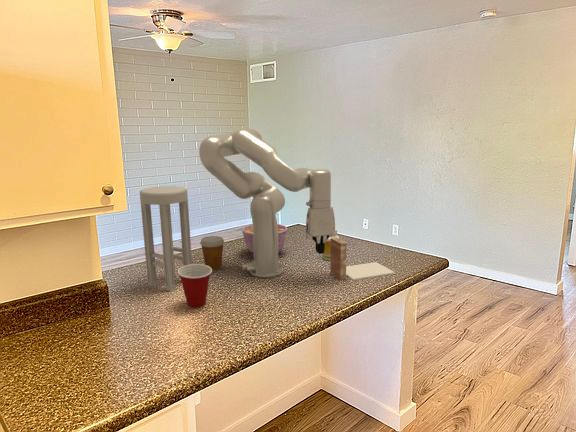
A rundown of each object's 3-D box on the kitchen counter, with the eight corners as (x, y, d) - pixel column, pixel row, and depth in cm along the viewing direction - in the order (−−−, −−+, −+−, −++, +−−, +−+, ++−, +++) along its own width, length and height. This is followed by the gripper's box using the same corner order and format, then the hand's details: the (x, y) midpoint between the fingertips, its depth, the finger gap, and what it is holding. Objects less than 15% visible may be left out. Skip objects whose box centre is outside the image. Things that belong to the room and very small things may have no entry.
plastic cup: (193, 314, 131) (191, 277, 128) (173, 305, 137) (170, 270, 135) (220, 303, 139) (219, 268, 136) (200, 294, 145) (198, 261, 143)
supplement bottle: (339, 260, 178) (340, 231, 176) (322, 260, 179) (323, 231, 176) (338, 255, 185) (338, 227, 183) (321, 255, 186) (322, 227, 183)
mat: (353, 280, 156) (353, 278, 156) (337, 269, 168) (337, 267, 168) (394, 273, 163) (394, 272, 163) (376, 263, 175) (376, 262, 174)
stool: (171, 273, 166) (164, 184, 158) (201, 280, 159) (195, 187, 151) (139, 286, 153) (130, 190, 146) (170, 294, 146) (162, 194, 138)
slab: (339, 279, 157) (340, 243, 154) (330, 272, 165) (330, 238, 161) (345, 279, 158) (346, 242, 155) (336, 272, 165) (336, 237, 162)
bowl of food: (236, 250, 194) (235, 226, 191) (276, 244, 202) (276, 221, 199) (251, 263, 176) (251, 236, 174) (295, 256, 184) (295, 231, 182)
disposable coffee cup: (227, 263, 176) (226, 235, 174) (222, 271, 167) (220, 242, 164) (205, 263, 177) (203, 235, 175) (198, 271, 168) (196, 242, 165)
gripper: (305, 207, 146) (305, 258, 150) (343, 204, 151) (342, 253, 156) (297, 203, 153) (297, 252, 157) (334, 200, 158) (333, 247, 162)
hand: (320, 252), depth 156 cm, fingers closed
